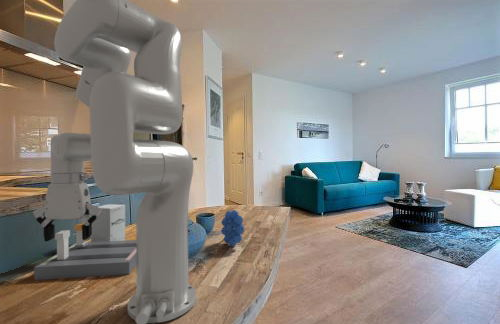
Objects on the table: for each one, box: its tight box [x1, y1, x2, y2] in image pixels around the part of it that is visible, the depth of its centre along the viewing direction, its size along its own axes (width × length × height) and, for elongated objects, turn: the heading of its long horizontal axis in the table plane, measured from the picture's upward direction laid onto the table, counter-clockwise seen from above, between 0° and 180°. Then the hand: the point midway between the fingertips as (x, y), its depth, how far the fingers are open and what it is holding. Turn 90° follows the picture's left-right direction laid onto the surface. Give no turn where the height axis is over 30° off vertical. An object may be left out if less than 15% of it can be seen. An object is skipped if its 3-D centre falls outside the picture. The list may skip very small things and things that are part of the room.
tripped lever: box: [74, 221, 89, 248], centre depth 69 cm, size 3×2×6 cm
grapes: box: [220, 209, 245, 247], centre depth 79 cm, size 12×7×12 cm, turn 38°
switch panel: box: [33, 229, 137, 281], centre depth 66 cm, size 17×21×10 cm
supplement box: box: [90, 203, 126, 242], centre depth 81 cm, size 7×7×13 cm
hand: (68, 239), depth 69 cm, fingers open, 9 cm apart
